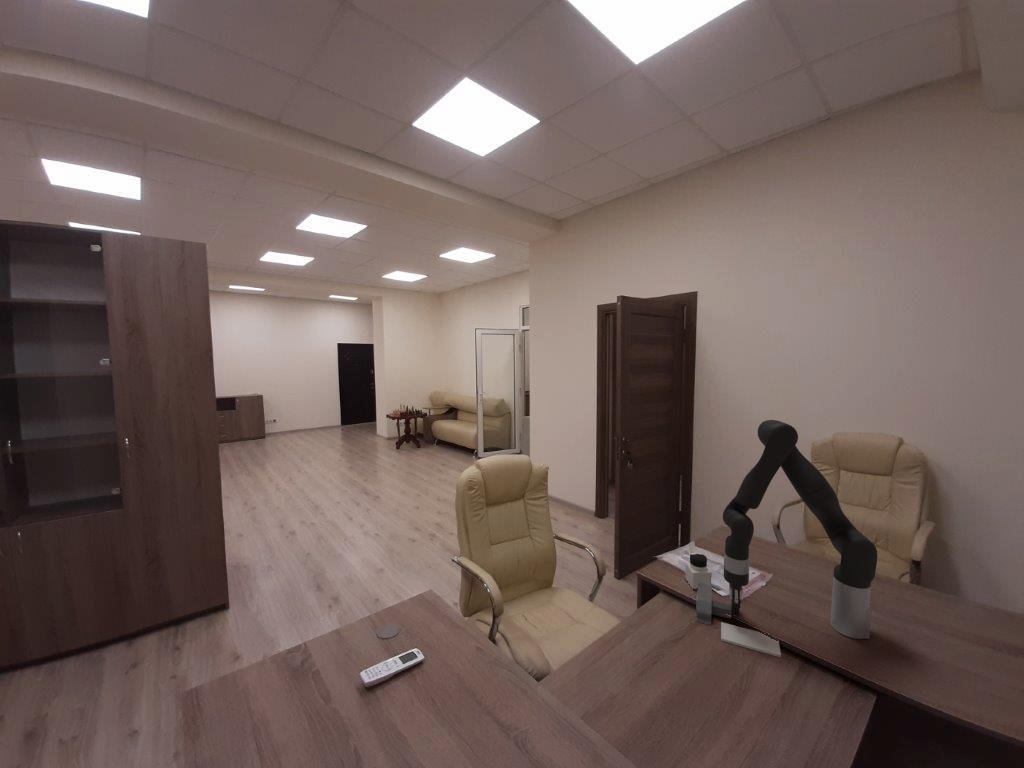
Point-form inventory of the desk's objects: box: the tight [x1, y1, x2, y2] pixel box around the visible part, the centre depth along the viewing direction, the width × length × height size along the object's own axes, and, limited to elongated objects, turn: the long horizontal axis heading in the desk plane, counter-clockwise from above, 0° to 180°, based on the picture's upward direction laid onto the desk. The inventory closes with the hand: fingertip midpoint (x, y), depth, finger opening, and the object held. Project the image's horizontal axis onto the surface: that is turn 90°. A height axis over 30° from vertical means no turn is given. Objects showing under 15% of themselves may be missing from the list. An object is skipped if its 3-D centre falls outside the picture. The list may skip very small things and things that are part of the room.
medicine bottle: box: [684, 552, 712, 590], centre depth 156 cm, size 7×7×12 cm
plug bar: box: [695, 599, 733, 618], centre depth 140 cm, size 11×4×4 cm, turn 63°
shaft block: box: [695, 583, 713, 626], centre depth 141 cm, size 4×15×7 cm, turn 153°
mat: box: [720, 621, 782, 658], centre depth 127 cm, size 16×8×1 cm, turn 63°
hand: (735, 614), depth 137 cm, fingers closed
